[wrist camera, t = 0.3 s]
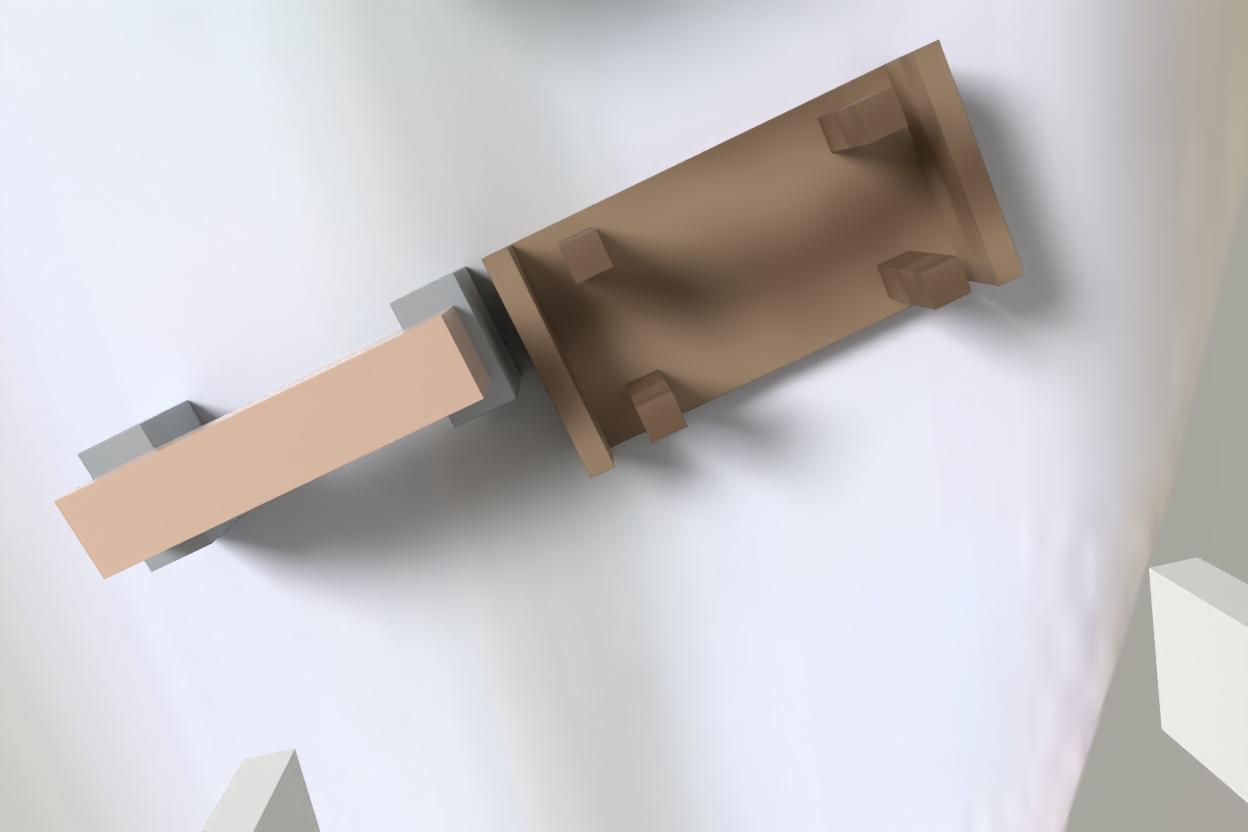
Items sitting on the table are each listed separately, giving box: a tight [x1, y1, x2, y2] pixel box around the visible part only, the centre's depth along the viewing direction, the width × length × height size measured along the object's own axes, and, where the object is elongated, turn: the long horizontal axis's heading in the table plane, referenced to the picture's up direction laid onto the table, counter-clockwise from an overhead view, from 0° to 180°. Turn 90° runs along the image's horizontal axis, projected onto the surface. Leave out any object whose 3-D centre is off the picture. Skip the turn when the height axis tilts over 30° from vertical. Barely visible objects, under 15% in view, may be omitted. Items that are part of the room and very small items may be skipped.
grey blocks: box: [78, 267, 522, 572], centre depth 36 cm, size 5×15×4 cm, turn 116°
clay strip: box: [54, 306, 491, 579], centre depth 33 cm, size 3×14×4 cm, turn 115°
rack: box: [482, 40, 1024, 478], centre depth 36 cm, size 9×18×6 cm, turn 115°
